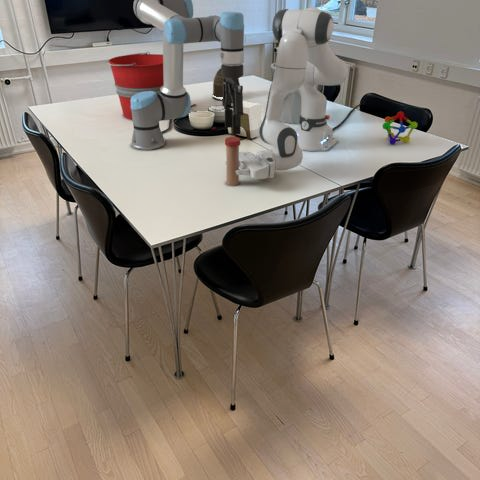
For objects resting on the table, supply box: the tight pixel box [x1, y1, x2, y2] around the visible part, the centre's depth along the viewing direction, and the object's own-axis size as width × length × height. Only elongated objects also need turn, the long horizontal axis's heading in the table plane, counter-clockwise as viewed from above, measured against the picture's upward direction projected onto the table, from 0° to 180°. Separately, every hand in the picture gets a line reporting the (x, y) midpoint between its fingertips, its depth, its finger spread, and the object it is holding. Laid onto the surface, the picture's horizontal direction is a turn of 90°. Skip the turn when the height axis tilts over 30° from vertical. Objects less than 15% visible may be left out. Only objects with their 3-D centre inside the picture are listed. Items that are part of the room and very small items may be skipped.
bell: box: [212, 68, 234, 97], centre depth 278 cm, size 19×26×20 cm
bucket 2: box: [270, 61, 325, 125], centre depth 235 cm, size 30×30×28 cm
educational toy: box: [382, 110, 418, 145], centre depth 207 cm, size 16×13×15 cm
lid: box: [224, 136, 241, 147], centre depth 162 cm, size 6×6×2 cm
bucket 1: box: [105, 51, 164, 121], centre depth 241 cm, size 35×35×30 cm
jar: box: [225, 145, 240, 187], centre depth 167 cm, size 5×5×17 cm
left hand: (232, 130), depth 160 cm, fingers open, 7 cm apart
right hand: (231, 167), depth 168 cm, fingers open, 8 cm apart
